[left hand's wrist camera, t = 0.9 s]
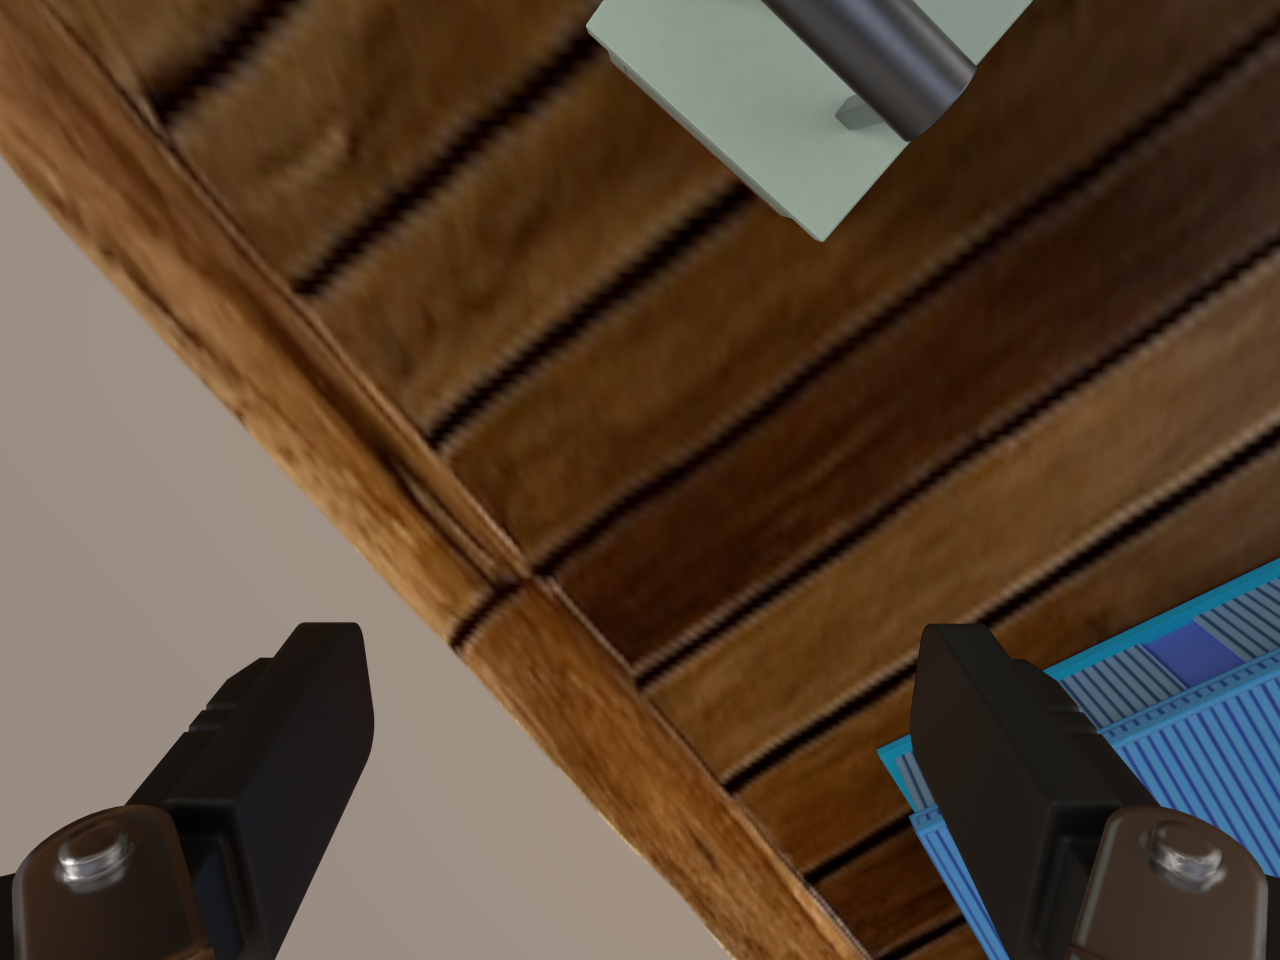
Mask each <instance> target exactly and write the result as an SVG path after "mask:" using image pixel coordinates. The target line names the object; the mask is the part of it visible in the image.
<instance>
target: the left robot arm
mask: <svg viewBox="0 0 1280 960" xmlns="http://www.w3.org/2000/svg"><path fill="white" fill-rule="evenodd" d="M373 735H374V711H373V704H372V696H371V689H370V682H369V675H368V668H367V661H366V654H365V646H364V639H363V634H362V631H361V628H360V627H359V625H358V624H357V623H354V622H304V623H301V624H299V625H298V626H297V627H296V628H295V630H294V631H293V632H292V634H291V635H290V636H289V638H288V639H287V640H286V642H285V643H284V644H283V646H282V647H281V648H280V650H279V651H278V652H277V654H276V655H275V656H274V657H273V658H259V659H257V660H256V661H254V662H253V663H252V664H250V665H249V666H247V667H245V668H244V669H242V670H241V671H239V672H238V673H236V674H235V675H233V676H232V677H230V678H229V679H227V681H226V682H225V683H224V684H223V685H222V687H221V688H220V689H219V690H218V692H217V693H216V694H215V695H214V696H213V698H212V699H211V700H210V701H209V703H208V704H207V705H206V710H202V711H201V712H200V714H199V715H198V716H197V717H196V718H195V720H194V721H193V722H192V723H191V725H190V726H189V731H188V732H184V733H183V734H182V736H181V737H180V738H179V739H178V740H177V742H176V743H175V744H174V745H173V747H172V748H171V749H170V750H169V751H168V753H167V754H166V755H165V756H164V758H163V759H162V760H161V761H160V762H159V764H158V765H157V766H156V767H155V769H154V770H153V771H152V772H151V774H150V775H149V776H148V777H147V778H146V780H145V781H144V782H143V783H142V784H141V786H140V787H139V788H138V789H137V791H136V792H135V793H134V794H133V795H132V797H131V798H130V799H129V800H128V802H127V803H126V804H125V805H124V806H119V807H114V808H110V809H106V810H102V811H99V812H96V813H93V814H90V815H88V816H85V817H83V818H80V819H78V820H76V821H74V822H72V823H70V824H68V825H67V826H65V827H63V828H61V829H60V830H58V831H57V832H55V833H53V834H52V835H51V836H49V837H48V838H47V839H45V840H44V841H43V842H41V843H40V844H39V845H38V846H37V847H36V848H35V849H34V850H33V851H31V852H30V854H29V855H28V856H27V857H26V858H25V859H24V861H23V862H22V863H21V865H20V867H19V868H18V870H17V871H16V873H14V874H10V875H5V876H1V877H0V960H275V958H276V956H277V954H278V952H279V949H280V947H281V945H282V943H283V941H284V939H285V936H286V934H287V932H288V930H289V928H290V926H291V924H292V922H293V919H294V917H295V915H296V913H297V911H298V909H299V907H300V904H301V902H302V900H303V898H304V896H305V894H306V891H307V889H308V887H309V885H310V883H311V881H312V878H313V876H314V874H315V872H316V870H317V868H318V866H319V864H320V861H321V859H322V857H323V855H324V853H325V851H326V849H327V846H328V844H329V842H330V840H331V838H332V836H333V833H334V831H335V829H336V827H337V825H338V823H339V821H340V818H341V816H342V814H343V812H344V810H345V808H346V806H347V803H348V801H349V799H350V797H351V795H352V793H353V791H354V788H355V786H356V784H357V782H358V780H359V778H360V775H361V773H362V771H363V769H364V767H365V765H366V762H367V760H368V758H369V755H370V751H371V747H372V742H373ZM910 736H911V743H912V749H913V753H914V756H915V759H916V762H917V764H918V766H919V768H920V770H921V772H922V775H923V777H924V779H925V781H926V783H927V785H928V787H929V789H930V792H931V794H932V796H933V798H934V800H935V802H936V804H937V806H938V809H939V811H940V813H941V815H942V817H943V819H944V821H945V823H946V825H947V828H948V830H949V832H950V834H951V836H952V838H953V840H954V842H955V845H956V847H957V849H958V851H959V853H960V855H961V857H962V859H963V862H964V864H965V866H966V868H967V870H968V872H969V874H970V876H971V879H972V881H973V883H974V885H975V887H976V889H977V891H978V893H979V896H980V898H981V900H982V902H983V904H984V906H985V908H986V910H987V913H988V915H989V917H990V919H991V921H992V923H993V925H994V927H995V929H996V932H997V934H998V936H999V938H1000V940H1001V942H1002V944H1003V946H1004V949H1005V951H1006V953H1007V955H1008V957H1009V959H1010V960H1280V878H1278V877H1274V876H1270V875H1267V874H1264V871H1263V870H1262V868H1261V867H1260V865H1259V863H1258V862H1257V861H1256V859H1255V858H1254V857H1253V856H1252V855H1251V854H1250V852H1249V851H1247V850H1246V849H1245V848H1244V847H1243V846H1242V845H1241V844H1240V843H1239V842H1237V841H1236V840H1235V839H1233V838H1232V837H1231V836H1230V835H1228V834H1227V833H1225V832H1223V831H1222V830H1220V829H1219V828H1217V827H1215V826H1214V825H1212V824H1210V823H1208V822H1206V821H1204V820H1202V819H1200V818H1197V817H1195V816H1192V815H1190V814H1187V813H1184V812H1181V811H1178V810H1175V809H1171V808H1166V807H1161V806H1160V804H1159V803H1158V802H1157V801H1156V800H1155V798H1154V797H1153V796H1152V795H1151V794H1150V792H1149V791H1148V790H1147V789H1146V787H1145V786H1144V785H1143V784H1142V783H1141V781H1140V780H1139V779H1138V778H1137V777H1136V775H1135V774H1134V773H1133V772H1132V770H1131V769H1130V768H1129V767H1128V766H1127V764H1126V763H1125V762H1124V761H1123V760H1122V758H1121V757H1120V756H1119V755H1118V754H1117V752H1116V751H1115V750H1114V749H1113V747H1112V746H1111V745H1110V744H1109V743H1108V741H1107V740H1106V739H1105V738H1104V737H1103V735H1102V734H1097V728H1096V727H1095V726H1094V724H1093V723H1092V722H1091V721H1090V720H1089V718H1088V717H1087V716H1086V715H1085V714H1084V712H1080V711H1079V706H1078V705H1077V704H1076V703H1075V701H1074V700H1073V699H1072V698H1071V697H1070V695H1069V694H1068V693H1067V692H1066V691H1065V689H1064V688H1063V687H1062V686H1061V684H1060V683H1059V682H1058V681H1057V680H1055V679H1054V678H1052V677H1051V676H1049V675H1048V674H1046V673H1045V672H1043V671H1042V670H1040V669H1039V668H1037V667H1036V666H1034V665H1033V664H1031V663H1030V662H1028V661H1027V660H1025V659H1011V658H1010V656H1009V655H1008V654H1007V652H1006V651H1005V650H1004V648H1003V647H1002V646H1001V645H1000V643H999V642H998V641H997V639H996V638H995V637H994V635H993V634H992V633H991V631H990V630H989V629H988V628H987V627H986V626H985V625H983V624H928V625H927V626H926V627H925V628H924V630H923V633H922V637H921V642H920V649H919V656H918V663H917V670H916V677H915V684H914V692H913V699H912V706H911V713H910Z"/></svg>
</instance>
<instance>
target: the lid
mask: <svg viewBox="0 0 1280 960" xmlns="http://www.w3.org/2000/svg"><path fill="white" fill-rule="evenodd" d="M1032 1H1033V0H603V2H602V3H601V5H600V6H599V7H598V9H597V10H596V12H595V13H594V14H593V16H592V17H591V19H590V20H589V22H588V23H587V25H586V27H587V30H588V32H589V34H590V35H591V36H593V37H594V38H595V39H596V40H597V41H598V42H599V43H600V44H601V45H602V46H603V47H605V48H606V49H607V50H608V51H609V52H610V53H611V54H612V55H613V56H614V57H616V58H617V59H618V60H619V61H620V62H621V63H622V64H623V65H624V66H625V67H626V68H628V69H629V70H630V71H631V72H632V73H633V74H634V75H635V76H636V77H637V78H639V79H640V80H641V81H642V82H643V83H644V84H645V85H646V86H647V87H648V88H650V89H651V90H652V91H653V92H654V93H655V94H656V95H657V96H658V97H659V98H660V99H662V100H663V101H664V102H665V103H666V104H667V105H668V106H669V107H670V108H671V109H673V110H674V111H675V112H676V113H677V114H678V115H679V116H680V117H681V118H682V119H684V120H685V121H686V122H687V123H688V124H689V125H690V126H691V127H692V128H693V129H694V130H696V131H697V132H698V133H699V134H700V135H701V136H702V137H703V138H704V139H705V140H707V141H708V142H709V143H710V144H711V145H712V146H713V147H714V148H715V149H716V150H717V151H719V152H720V153H721V154H722V155H723V156H724V157H725V158H726V159H727V160H728V161H730V162H731V163H732V164H733V165H734V166H735V167H736V168H737V169H738V170H739V171H741V172H742V173H743V174H744V175H745V176H746V177H747V178H748V179H749V180H750V181H751V182H753V183H754V184H755V185H756V186H757V187H758V188H759V189H760V190H761V191H762V192H764V193H765V194H766V195H767V196H768V197H769V198H770V199H771V200H772V201H773V202H775V203H776V204H777V205H778V206H779V207H780V208H781V209H782V210H783V211H784V212H785V213H787V214H788V215H789V216H790V217H791V218H792V219H793V220H794V221H795V222H796V223H798V224H799V225H800V226H801V227H802V228H803V229H804V230H805V231H806V232H807V233H808V234H810V235H811V236H812V237H813V238H814V239H815V240H818V241H821V242H823V241H824V240H825V239H826V238H827V237H828V236H829V235H830V234H831V232H832V231H833V230H834V229H835V228H836V227H837V225H838V224H839V223H840V222H841V221H842V220H843V219H844V217H845V216H846V215H847V214H848V213H849V212H850V211H851V209H852V208H853V207H854V206H855V205H856V204H857V202H858V201H859V200H860V199H861V198H862V197H863V196H864V194H865V193H866V192H867V191H868V190H869V189H870V187H871V186H872V185H873V184H874V183H875V182H876V181H877V179H878V178H879V177H880V176H881V175H882V174H883V173H884V171H885V170H886V169H887V168H888V167H889V166H890V164H891V163H892V162H893V161H894V160H895V159H896V158H897V156H898V155H899V154H900V153H901V152H902V151H903V149H904V148H905V147H906V146H907V145H908V144H909V143H910V141H912V140H914V139H915V138H917V137H919V136H920V135H922V134H923V133H924V132H925V131H927V130H928V129H929V128H930V127H931V126H932V125H934V124H935V123H936V122H937V121H938V120H939V119H940V118H941V117H942V116H943V115H944V114H945V113H946V112H947V111H948V110H949V109H950V108H951V107H952V105H953V104H954V103H955V102H956V101H957V100H958V99H959V97H960V96H961V95H962V94H963V92H964V91H965V90H966V88H967V87H968V86H969V84H970V83H971V81H972V79H973V77H974V76H975V73H976V71H977V67H976V65H977V64H978V63H979V62H980V61H981V60H982V59H983V57H984V56H985V55H986V54H987V53H988V52H989V50H990V49H991V48H992V47H993V46H994V45H995V44H996V42H997V41H998V40H999V39H1000V38H1001V37H1002V35H1003V34H1004V33H1005V32H1006V31H1007V30H1008V29H1009V27H1010V26H1011V25H1012V24H1013V23H1014V22H1015V20H1016V19H1017V18H1018V17H1019V16H1020V15H1021V14H1022V12H1023V11H1024V10H1025V9H1026V8H1027V7H1028V6H1029V4H1030V3H1031V2H1032Z"/></svg>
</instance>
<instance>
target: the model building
mask: <svg viewBox="0 0 1280 960" xmlns="http://www.w3.org/2000/svg"><path fill="white" fill-rule="evenodd" d="M1043 672H1045V673H1046V674H1048V675H1049V676H1051V677H1052V678H1054V679H1055V680H1057V681H1058V682H1059V683H1060V684H1061V686H1062V687H1063V688H1064V689H1065V691H1066V692H1067V693H1068V694H1069V695H1070V697H1071V698H1072V699H1073V700H1074V701H1075V703H1076V704H1077V705H1078V706H1079V711H1080V712H1084V714H1085V715H1086V716H1087V717H1088V718H1089V720H1090V721H1091V722H1092V723H1093V724H1094V726H1095V727H1096V728H1097V734H1102V735H1103V737H1104V738H1105V739H1106V740H1107V741H1108V743H1109V744H1110V745H1111V746H1112V747H1113V749H1114V750H1115V751H1116V752H1117V754H1118V755H1119V756H1120V757H1121V758H1122V760H1123V761H1124V762H1125V763H1126V764H1127V766H1128V767H1129V768H1130V769H1131V770H1132V772H1133V773H1134V774H1135V775H1136V777H1137V778H1138V779H1139V780H1140V781H1141V783H1142V784H1143V785H1144V786H1145V787H1146V789H1147V790H1148V791H1149V792H1150V794H1151V795H1152V796H1153V797H1154V798H1155V800H1156V801H1157V802H1158V803H1159V804H1160V806H1161V807H1166V808H1171V809H1175V810H1178V811H1181V812H1184V813H1187V814H1190V815H1192V816H1195V817H1197V818H1200V819H1202V820H1204V821H1206V822H1208V823H1210V824H1212V825H1214V826H1215V827H1217V828H1219V829H1220V830H1222V831H1223V832H1225V833H1227V834H1228V835H1230V836H1231V837H1232V838H1233V839H1235V840H1236V841H1237V842H1239V843H1240V844H1241V845H1242V846H1243V847H1244V848H1245V849H1246V850H1247V851H1249V852H1250V854H1251V855H1252V856H1253V857H1254V858H1255V859H1256V861H1257V862H1258V863H1259V865H1260V867H1261V868H1262V870H1263V871H1264V874H1267V875H1270V876H1274V877H1278V878H1280V558H1278V559H1276V560H1274V561H1272V562H1270V563H1268V564H1265V565H1263V566H1261V567H1259V568H1257V569H1255V570H1253V571H1251V572H1249V573H1247V574H1244V575H1242V576H1240V577H1238V578H1236V579H1234V580H1232V581H1230V582H1228V583H1226V584H1224V585H1221V586H1219V587H1217V588H1215V589H1213V590H1211V591H1209V592H1207V593H1205V594H1203V595H1200V596H1198V597H1196V598H1194V599H1192V600H1190V601H1188V602H1186V603H1184V604H1182V605H1179V606H1177V607H1175V608H1173V609H1171V610H1169V611H1167V612H1165V613H1163V614H1161V615H1158V616H1156V617H1154V618H1152V619H1150V620H1148V621H1146V622H1144V623H1142V624H1140V625H1137V626H1135V627H1133V628H1131V629H1129V630H1127V631H1125V632H1123V633H1121V634H1119V635H1116V636H1114V637H1112V638H1110V639H1108V640H1106V641H1104V642H1102V643H1100V644H1098V645H1095V646H1093V647H1091V648H1089V649H1087V650H1085V651H1083V652H1081V653H1079V654H1077V655H1074V656H1072V657H1070V658H1068V659H1066V660H1064V661H1062V662H1060V663H1058V664H1056V665H1053V666H1051V667H1049V668H1047V669H1045V670H1043ZM877 752H878V755H879V757H880V758H881V760H882V761H883V763H884V765H885V766H886V768H887V769H888V771H889V772H890V774H891V776H892V777H893V779H894V780H895V782H896V784H897V785H898V787H899V788H900V790H901V791H902V793H903V795H904V796H905V798H906V799H907V801H908V802H909V804H910V806H911V807H912V809H913V810H914V812H915V813H914V814H912V815H910V816H909V818H910V821H911V823H912V825H913V828H914V830H915V833H916V834H917V836H918V838H919V839H920V841H921V843H922V845H923V846H924V848H925V850H926V852H927V853H928V855H929V857H930V858H931V860H932V862H933V864H934V865H935V867H936V869H937V870H938V872H939V874H940V876H941V877H942V879H943V881H944V882H945V884H946V886H947V888H948V889H949V891H950V893H951V895H952V896H953V898H954V900H955V901H956V903H957V905H958V907H959V908H960V910H961V912H962V913H963V915H964V917H965V919H966V920H967V922H968V924H969V925H970V927H971V929H972V931H973V932H974V934H975V936H976V938H977V939H978V941H979V943H980V944H981V946H982V948H983V950H984V951H985V953H986V955H987V956H988V958H989V960H1010V959H1009V957H1008V955H1007V953H1006V951H1005V949H1004V946H1003V944H1002V942H1001V940H1000V938H999V936H998V934H997V932H996V929H995V927H994V925H993V923H992V921H991V919H990V917H989V915H988V913H987V910H986V908H985V906H984V904H983V902H982V900H981V898H980V896H979V893H978V891H977V889H976V887H975V885H974V883H973V881H972V879H971V876H970V874H969V872H968V870H967V868H966V866H965V864H964V862H963V859H962V857H961V855H960V853H959V851H958V849H957V847H956V845H955V842H954V840H953V838H952V836H951V834H950V832H949V830H948V828H947V825H946V823H945V821H944V819H943V817H942V815H941V813H940V811H939V809H938V806H937V804H936V802H935V800H934V798H933V796H932V794H931V792H930V789H929V787H928V785H927V783H926V781H925V779H924V777H923V775H922V772H921V770H920V768H919V766H918V764H917V762H916V759H915V756H914V753H913V749H912V743H911V736H910V734H909V735H907V736H904V737H902V738H900V739H898V740H896V741H894V742H892V743H890V744H888V745H886V746H883V747H881V748H879V749H877Z"/></svg>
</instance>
